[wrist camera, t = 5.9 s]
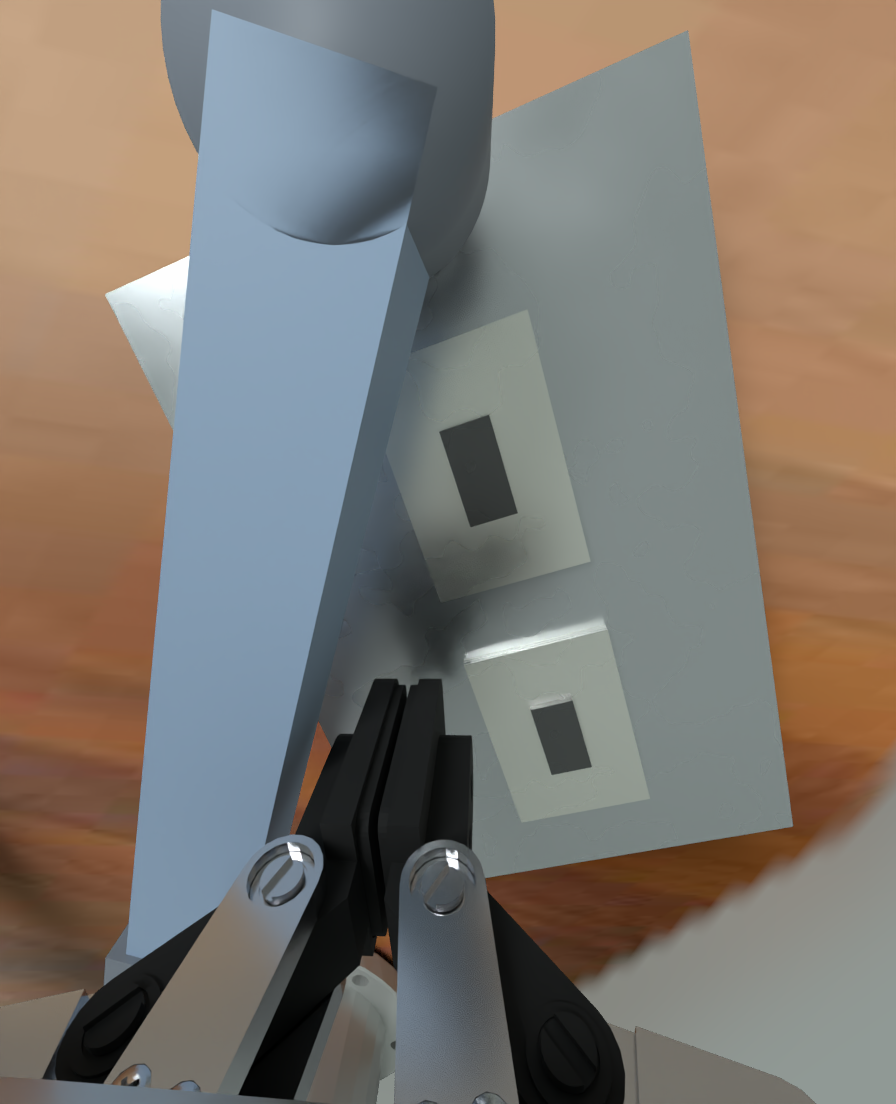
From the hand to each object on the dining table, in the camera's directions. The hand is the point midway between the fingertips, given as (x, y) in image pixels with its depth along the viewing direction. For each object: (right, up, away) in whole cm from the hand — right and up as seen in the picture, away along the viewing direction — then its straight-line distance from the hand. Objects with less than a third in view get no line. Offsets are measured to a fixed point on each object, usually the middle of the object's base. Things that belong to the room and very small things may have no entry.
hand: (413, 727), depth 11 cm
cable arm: (-3, +3, -1) cm, 4 cm away
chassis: (+2, +4, +5) cm, 7 cm away
